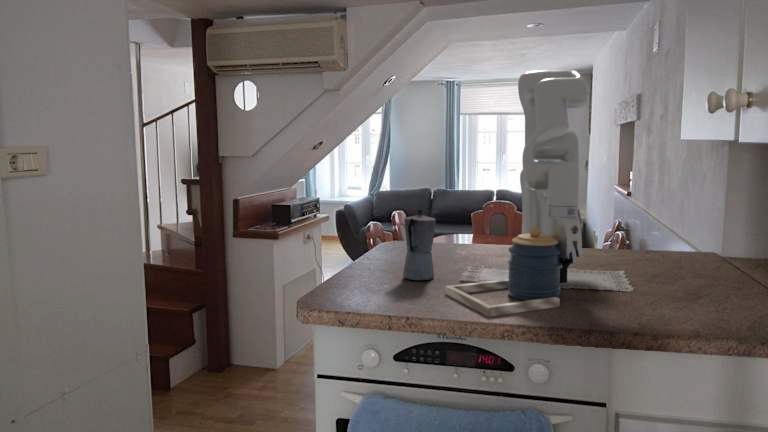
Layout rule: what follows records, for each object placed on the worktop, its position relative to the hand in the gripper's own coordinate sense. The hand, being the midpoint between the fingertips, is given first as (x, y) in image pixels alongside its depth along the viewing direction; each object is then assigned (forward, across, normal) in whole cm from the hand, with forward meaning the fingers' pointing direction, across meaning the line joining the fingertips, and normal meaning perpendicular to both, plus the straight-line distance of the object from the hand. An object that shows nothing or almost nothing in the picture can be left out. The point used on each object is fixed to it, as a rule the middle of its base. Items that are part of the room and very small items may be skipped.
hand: (560, 282), depth 145 cm
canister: (+3, 0, +8) cm, 9 cm away
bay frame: (+3, 0, +17) cm, 18 cm away
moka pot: (+3, +28, +27) cm, 39 cm away
